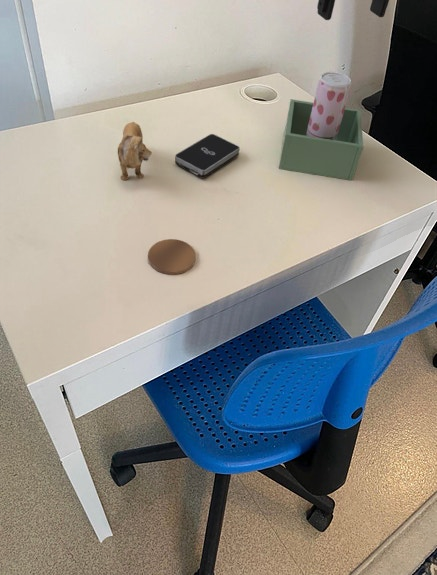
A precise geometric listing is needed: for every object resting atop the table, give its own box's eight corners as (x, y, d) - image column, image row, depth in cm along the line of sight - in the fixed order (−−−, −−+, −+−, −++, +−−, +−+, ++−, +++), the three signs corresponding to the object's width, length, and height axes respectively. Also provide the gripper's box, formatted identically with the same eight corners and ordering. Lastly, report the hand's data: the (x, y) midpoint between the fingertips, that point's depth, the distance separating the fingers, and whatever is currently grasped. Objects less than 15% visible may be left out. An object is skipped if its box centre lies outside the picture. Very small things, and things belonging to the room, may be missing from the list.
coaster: (199, 246, 75) (199, 243, 75) (190, 278, 71) (190, 275, 70) (154, 238, 76) (154, 235, 75) (142, 270, 71) (142, 267, 71)
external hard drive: (173, 165, 90) (173, 155, 88) (211, 142, 96) (212, 132, 94) (203, 181, 87) (203, 171, 85) (240, 156, 93) (241, 146, 92)
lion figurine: (153, 190, 84) (152, 143, 77) (122, 192, 83) (118, 145, 76) (142, 143, 94) (140, 98, 87) (113, 145, 92) (110, 99, 86)
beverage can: (312, 143, 98) (330, 68, 87) (336, 155, 96) (358, 79, 85) (296, 154, 95) (313, 77, 84) (320, 166, 93) (341, 89, 82)
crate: (350, 142, 100) (360, 109, 95) (352, 180, 91) (363, 146, 86) (284, 131, 101) (290, 99, 96) (278, 168, 91) (285, 134, 86)
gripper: (345, -121, 60) (313, 27, 73) (457, -117, 65) (409, 22, 78) (316, -134, 65) (290, 8, 77) (423, -128, 70) (383, 4, 82)
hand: (350, 15), depth 78 cm, fingers open, 9 cm apart
